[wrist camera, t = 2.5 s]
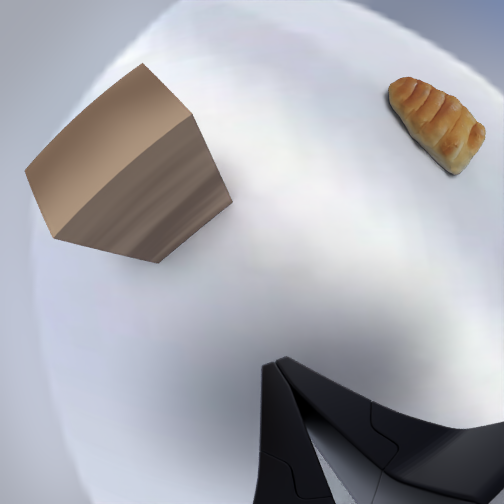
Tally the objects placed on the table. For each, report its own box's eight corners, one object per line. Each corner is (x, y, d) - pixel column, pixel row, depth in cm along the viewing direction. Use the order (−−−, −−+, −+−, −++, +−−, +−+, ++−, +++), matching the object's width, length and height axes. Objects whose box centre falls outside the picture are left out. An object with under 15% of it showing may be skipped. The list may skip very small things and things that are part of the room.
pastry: (369, 112, 22) (382, 86, 19) (402, 74, 23) (415, 50, 19) (453, 184, 21) (477, 169, 17) (476, 138, 22) (497, 121, 18)
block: (232, 202, 22) (192, 113, 10) (158, 263, 22) (53, 238, 10) (200, 163, 22) (142, 62, 11) (130, 222, 22) (24, 170, 10)
